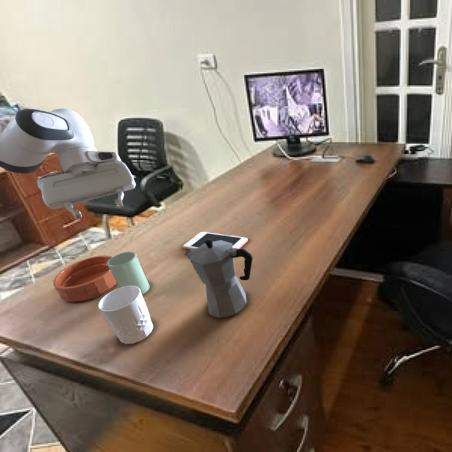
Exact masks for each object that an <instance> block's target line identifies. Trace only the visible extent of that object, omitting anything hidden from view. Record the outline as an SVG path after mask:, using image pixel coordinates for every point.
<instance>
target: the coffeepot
mask: <svg viewBox="0 0 452 452" xmlns="http://www.w3.org/2000/svg"><path fill="white" fill-rule="evenodd" d="M183 256H185V257H187V258H188V259H189V261H190V264H191V265H192V267H193V268H194V270H195V272H196V274H197V276H198V278H199V280H200V281H201V283H202V284H204V285H205V293H206V301H207V311H208V314H210V315H211V316H213V317H216V318H220V319H221V318H229V317H232V316H234V315H237V314H238V313H239V312H241V311H242V310H243V309H244V308H245V307H246V305H247V294H246V292H245V290H244V288H243V287H242V284H241V282H240V281H249V280H250V279H251V271H252V266H253V265H252V264H253V261H254V259H253V258H254V257H253V255H252V253H250V252H249V250H247V249H246V248H240V249H238V248H233V246H232V243H229V242H225V241H222V240H219V241H214V242H212V239H207V240H205V244H203V245H201V246H200V247H198V248H195V249H188V250H186V251H185V253H184V254H183ZM236 258H243V259H244V261H243V262H244V263H243V265H244V268H243V274H244V275H243V276H242V275H241V276H237V275H236V267H235V259H236ZM238 277H239V278H238Z"/></svg>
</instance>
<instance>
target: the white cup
mask: <svg viewBox="0 0 452 452" xmlns="http://www.w3.org/2000/svg"><path fill="white" fill-rule="evenodd" d="M97 307H98V310H99V311H100V312H101V314H102V316H103V317H104V319H105V320H106V322H107V325H109V327H110V328H111V330H112V331H113V333H114V334H115V335H116V337H117V338H118V339H119V341H120V343H122V344H124V345H134V344H136V343H139V342H141V341H143V340H144V339H146V338H147V337H149V335H150V334H152V331H153V329H154V325H153V321H152V319H151V314H150V313H149V309H148V306H147V304H146V301H145V299H144V296H143V295H142V293H141V290H140V288H138V287H137V286H124V287H121V288H119V287H118V288H115V289H113V290H111V291H109V292H108V293H106V294H105V295H104V296H103V297H102V298H101V299H100V300H99V301H98V304H97Z"/></svg>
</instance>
